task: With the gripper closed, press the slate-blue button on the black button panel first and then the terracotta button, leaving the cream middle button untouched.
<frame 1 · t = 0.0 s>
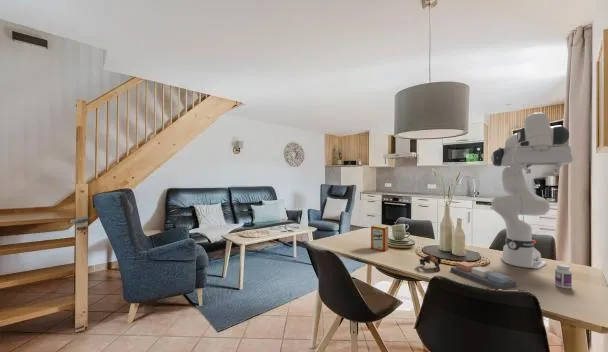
hand: (542, 173, 114), 52 cm above the table, tool tilted 20°, fingers open, 8 cm apart
terracotta button: (465, 266, 135), point 3 cm above the table, slide at 0.0 cm
dark piece: (431, 268, 140), on the table
slate button: (498, 278, 120), point 3 cm above the table, slide at 0.0 cm
cream button: (481, 272, 127), point 3 cm above the table, slide at 0.0 cm
baking soda box: (379, 249, 175), on the table
pill bottle: (563, 286, 118), on the table
button panel: (481, 278, 127), on the table
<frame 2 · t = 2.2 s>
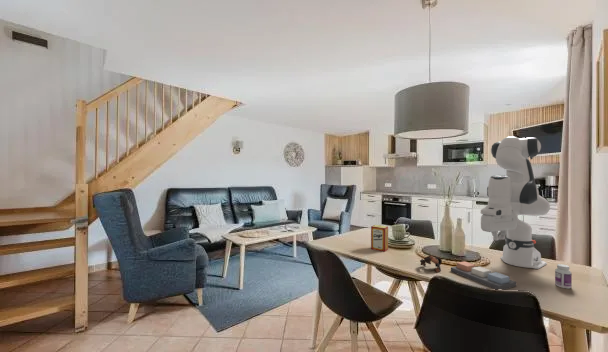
hand: (499, 239, 119), 21 cm above the table, tool pointing down, fingers open, 3 cm apart
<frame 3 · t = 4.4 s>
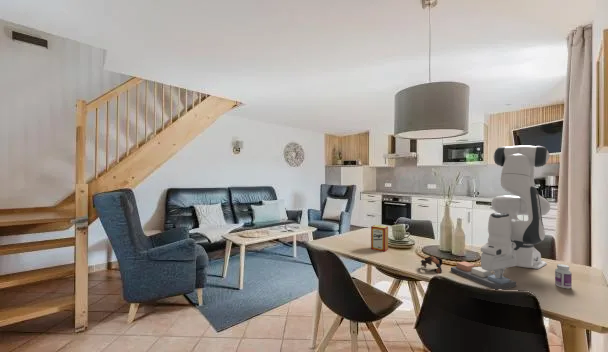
hand: (499, 277, 119), 4 cm above the table, tool pointing down, fingers closed, pressing on slate button
slate button: (498, 280, 120), point 2 cm above the table, slide at 1.0 cm, touching gripper
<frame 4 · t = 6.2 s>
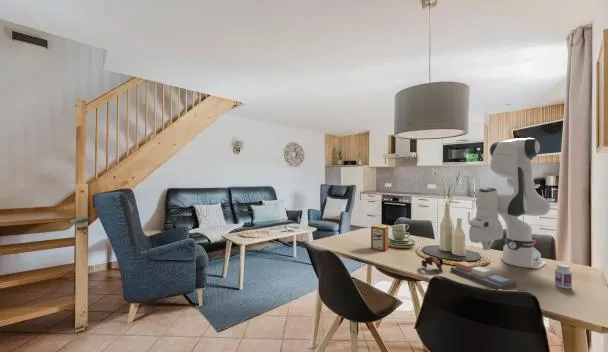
hand: (486, 249, 125), 15 cm above the table, tool pointing down, fingers closed
slate button: (498, 281, 120), point 2 cm above the table, slide at 1.5 cm
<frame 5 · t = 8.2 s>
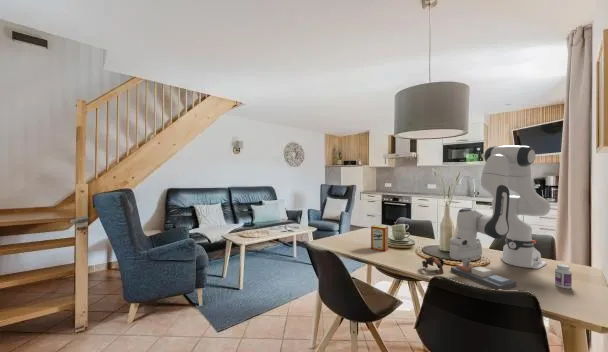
hand: (466, 265, 134), 4 cm above the table, tool pointing down, fingers closed, pressing on terracotta button
terracotta button: (465, 268, 135), point 2 cm above the table, slide at 0.9 cm, touching gripper
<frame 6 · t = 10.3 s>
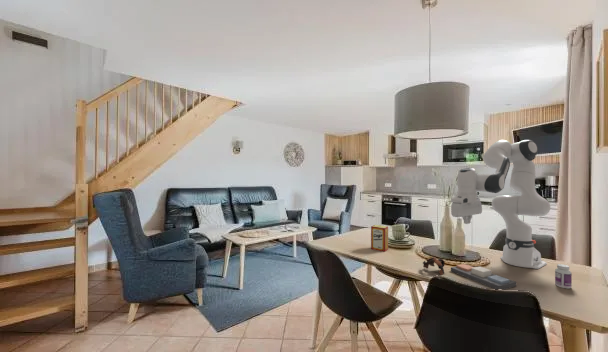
hand: (467, 223, 140), 25 cm above the table, tool pointing down, fingers closed
terracotta button: (465, 269, 135), point 2 cm above the table, slide at 1.5 cm
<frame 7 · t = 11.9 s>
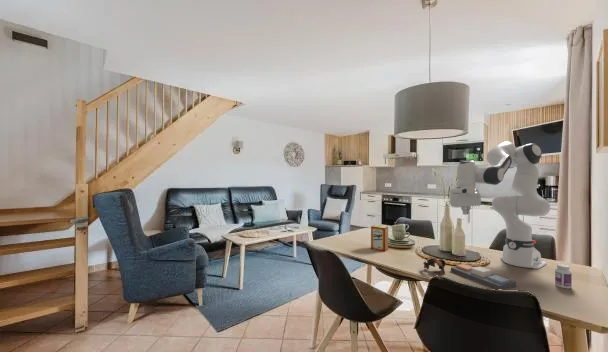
hand: (465, 214, 143), 29 cm above the table, tool pointing down, fingers closed
at the end: slate button slide at 1.5 cm; terracotta button slide at 1.5 cm; cream button slide at 0.0 cm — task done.
